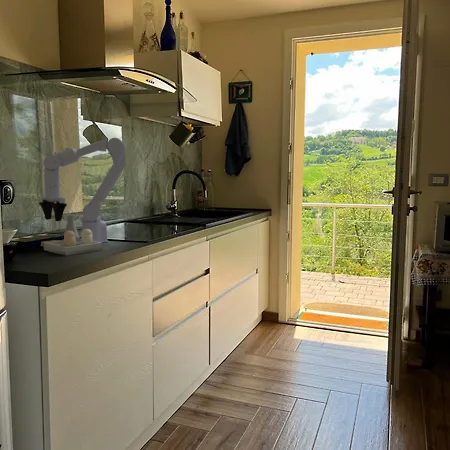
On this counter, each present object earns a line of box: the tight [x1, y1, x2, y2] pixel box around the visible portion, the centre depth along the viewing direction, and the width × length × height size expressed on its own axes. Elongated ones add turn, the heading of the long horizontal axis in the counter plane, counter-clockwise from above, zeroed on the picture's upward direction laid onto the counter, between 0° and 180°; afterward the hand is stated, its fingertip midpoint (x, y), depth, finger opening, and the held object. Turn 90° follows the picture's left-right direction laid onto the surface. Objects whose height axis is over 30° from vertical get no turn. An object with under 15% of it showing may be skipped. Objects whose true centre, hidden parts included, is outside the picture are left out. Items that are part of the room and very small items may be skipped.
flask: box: [63, 214, 81, 239], centre depth 195 cm, size 7×7×10 cm
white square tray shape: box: [43, 229, 104, 257], centre depth 168 cm, size 15×15×8 cm
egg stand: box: [40, 239, 60, 248], centre depth 176 cm, size 7×7×2 cm
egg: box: [63, 231, 76, 247], centre depth 163 cm, size 4×4×7 cm
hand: (53, 220), depth 181 cm, fingers open, 7 cm apart
